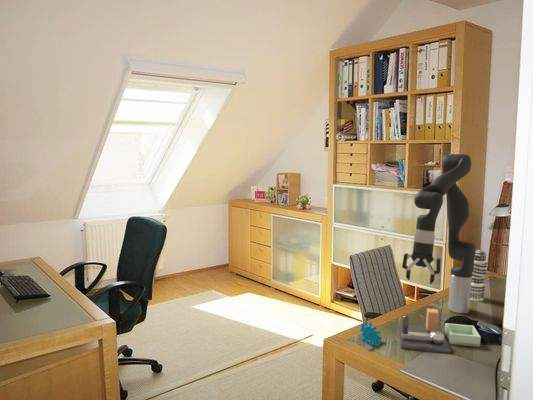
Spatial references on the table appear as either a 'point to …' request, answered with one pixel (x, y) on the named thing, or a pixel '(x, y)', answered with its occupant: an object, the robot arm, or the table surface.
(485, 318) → the table surface
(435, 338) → the crank
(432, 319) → the block
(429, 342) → the base plate
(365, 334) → the gear
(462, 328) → the tray
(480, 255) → the decorative candle
